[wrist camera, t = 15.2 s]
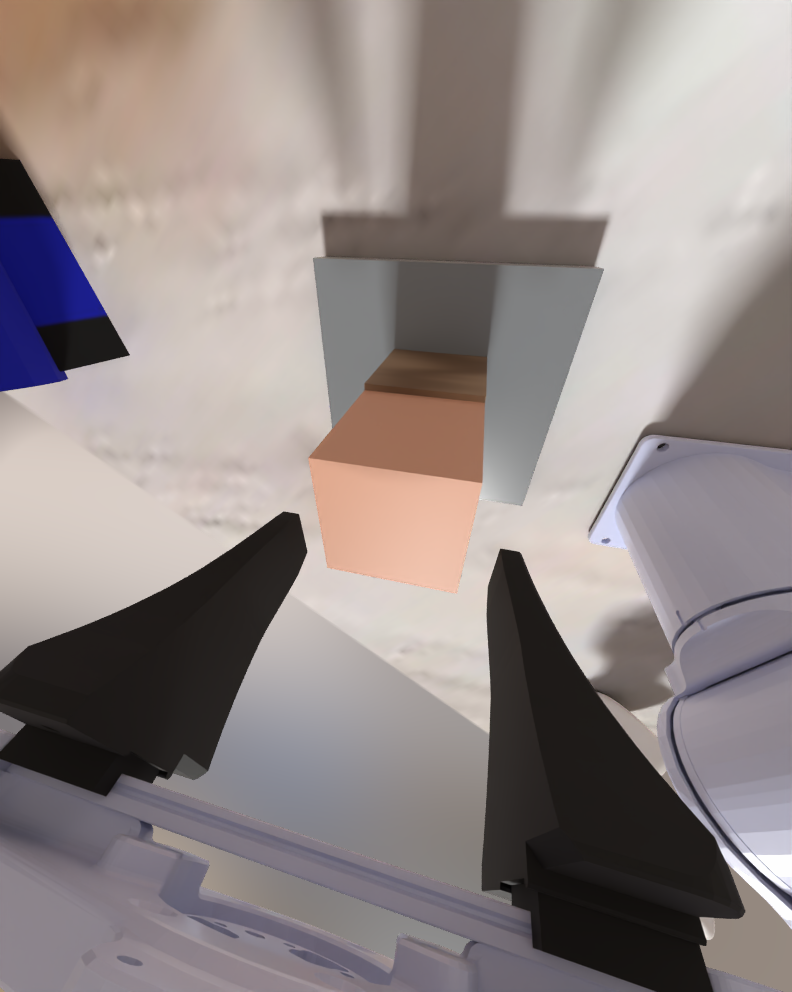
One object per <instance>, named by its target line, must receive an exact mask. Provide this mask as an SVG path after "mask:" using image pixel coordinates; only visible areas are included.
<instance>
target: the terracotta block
mask: <svg viewBox="0 0 792 992" xmlns="http://www.w3.org/2000/svg"><path fill="white" fill-rule="evenodd" d="M484 416H485V403H482V402H472V401H463V400H453V399H444V398H434V397H425V396H416V395H406V394H397V393H387V392H378V391H368V390H364V391H363V393H362V394H361V395H360V396H359V397H358V399H357V400H356V401H355V402H354V403H353V405H352V406H351V407H350V408H349V409H348V411H347V412H346V413H345V414H344V416H343V417H342V418H341V419H340V420H339V422H338V423H337V424H336V425H335V426H334V428H333V429H332V430H331V431H330V432H329V434H328V435H327V436H326V437H325V439H324V440H323V441H322V442H321V443H320V445H319V446H318V447H317V448H316V449H315V451H314V452H313V453H312V454H311V455H310V457H309V458H308V459H309V465H310V470H311V476H312V482H313V487H314V493H315V499H316V505H317V510H318V516H319V522H320V527H321V533H322V539H323V545H324V550H325V556H326V562H327V567H328V568H331V569H336V570H341V571H346V572H351V573H356V574H361V575H366V576H371V577H376V578H381V579H386V580H391V581H396V582H401V583H406V584H411V585H416V586H421V587H426V588H431V589H436V590H441V591H446V592H451V593H456V594H457V591H458V586H459V582H460V578H461V573H462V569H463V565H464V561H465V556H466V552H467V548H468V543H469V539H470V535H471V530H472V526H473V522H474V518H475V513H476V509H477V505H478V500H479V496H480V492H481V487H482V482H483V449H484Z"/></svg>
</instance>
